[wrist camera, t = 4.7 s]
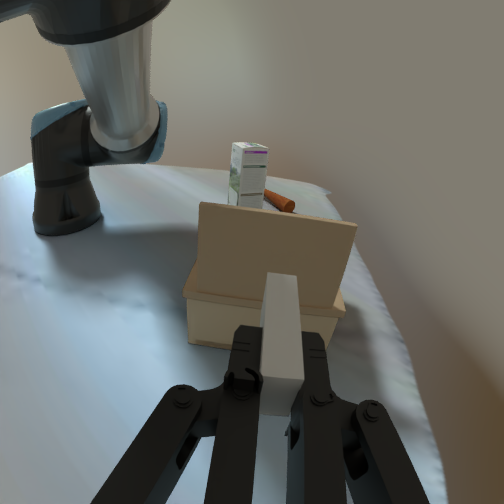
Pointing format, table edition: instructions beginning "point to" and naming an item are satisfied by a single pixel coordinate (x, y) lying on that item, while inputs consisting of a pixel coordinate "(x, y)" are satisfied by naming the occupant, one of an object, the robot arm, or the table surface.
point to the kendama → (280, 201)
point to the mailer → (239, 323)
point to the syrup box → (247, 174)
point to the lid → (269, 257)
